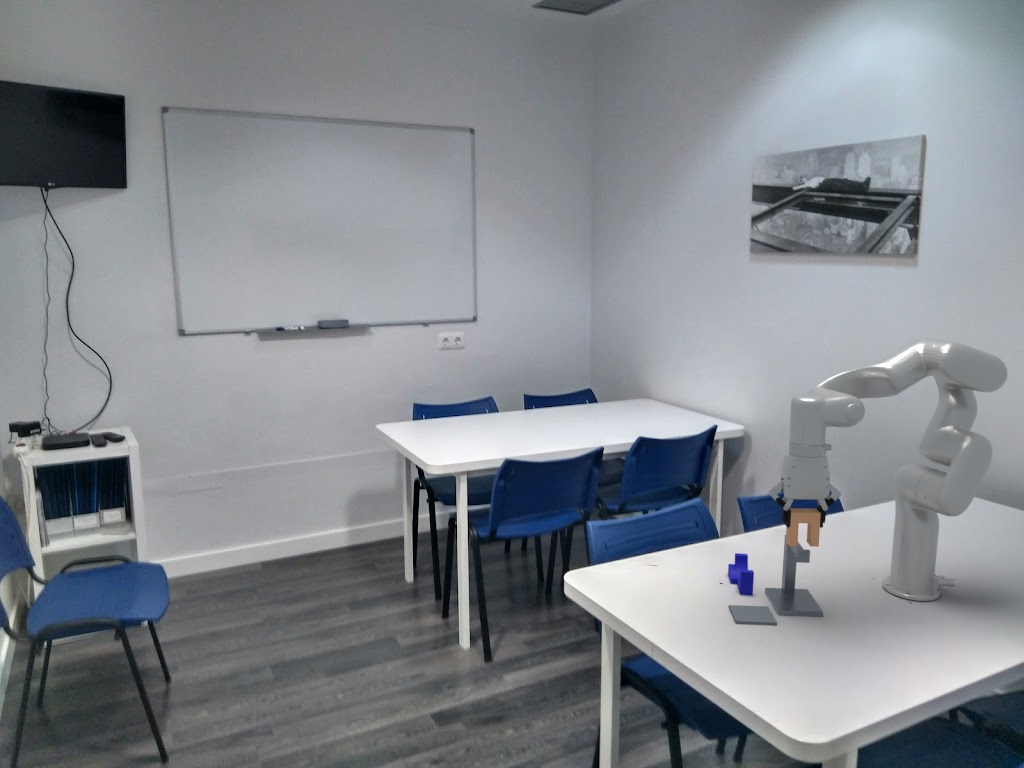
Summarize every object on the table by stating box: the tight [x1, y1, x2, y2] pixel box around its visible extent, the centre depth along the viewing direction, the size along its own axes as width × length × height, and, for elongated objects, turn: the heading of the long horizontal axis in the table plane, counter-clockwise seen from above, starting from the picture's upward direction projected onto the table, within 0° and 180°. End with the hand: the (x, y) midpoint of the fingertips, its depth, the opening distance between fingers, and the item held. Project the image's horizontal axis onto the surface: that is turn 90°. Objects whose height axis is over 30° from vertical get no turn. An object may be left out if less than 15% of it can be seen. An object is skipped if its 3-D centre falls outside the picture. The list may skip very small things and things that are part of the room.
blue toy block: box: [727, 552, 755, 597], centre depth 189 cm, size 12×4×6 cm, turn 170°
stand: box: [764, 534, 824, 618], centre depth 177 cm, size 10×12×15 cm
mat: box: [728, 604, 778, 626], centre depth 173 cm, size 9×8×1 cm
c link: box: [785, 507, 821, 548], centre depth 173 cm, size 6×3×8 cm, turn 85°
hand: (803, 524), depth 173 cm, fingers closed on c link, 6 cm apart
